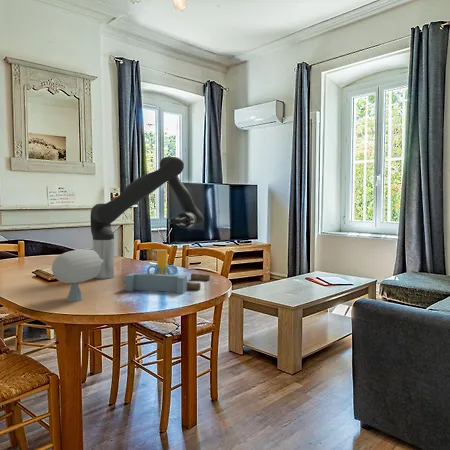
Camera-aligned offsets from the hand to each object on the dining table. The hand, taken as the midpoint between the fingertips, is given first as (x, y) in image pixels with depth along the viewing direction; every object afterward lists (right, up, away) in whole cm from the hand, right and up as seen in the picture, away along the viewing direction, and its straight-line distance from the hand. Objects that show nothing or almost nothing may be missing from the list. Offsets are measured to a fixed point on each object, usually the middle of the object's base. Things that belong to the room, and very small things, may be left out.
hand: (175, 221), depth 182 cm
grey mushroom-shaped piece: (-29, -28, -38) cm, 55 cm away
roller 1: (+11, -23, -2) cm, 26 cm away
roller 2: (+8, -27, -21) cm, 35 cm away
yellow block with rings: (-4, -27, -16) cm, 31 cm away
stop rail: (-5, -27, -25) cm, 37 cm away
